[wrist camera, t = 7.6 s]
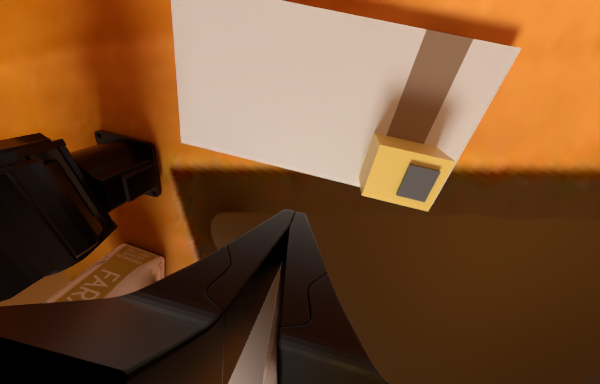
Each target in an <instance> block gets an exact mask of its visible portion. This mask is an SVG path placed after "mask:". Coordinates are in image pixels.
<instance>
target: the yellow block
mask: <svg viewBox="0 0 600 384" xmlns="http://www.w3.org/2000/svg"><path fill="white" fill-rule="evenodd" d="M455 162H456V161H454V160H453V159H452V158H450V157H449V156H448V155H446V154H445V153H444V152H443V151H441V150H440V149H439V148H437V147H435V146H431V145H426V144H422V143H417V142H413V141H408V140H404V139H399V138H395V137H390V136H386V135H381V134H377V133H374V134H373V137H372V140H371V143H370V146H369V149H368V152H367V155H366V158H365V160H364V163H363V166H362V169H361V172H360V175H359V182H360V188H361V195H362V196H366V197H370V198H374V199H378V200H383V201H387V202H391V203H395V204H399V205H403V206H407V207H411V208H416V209H420V210H424V211H429V209H430V207H431V205H432V204H433V202H434V200H435V198H436V196H437V195H438V193H439V191H440V189H441V187H442V186H443V184H444V182H445V180H446V179H447V177H448V175H449V173H450V171H451V170H452V168H453V166H454V164H455Z"/></svg>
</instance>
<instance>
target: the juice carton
mask: <svg viewBox="0 0 600 384" xmlns="http://www.w3.org/2000/svg"><path fill="white" fill-rule="evenodd" d="M164 269H165V261H164V258H163V257H162V256H160V255H157V254H154V253H151V252H149V251H146V250H143V249H140V248H137V247H135V246H132V245H129V244H121V245H120V246H118V247H117V248H115V249H114V250H112V251H111V252H110V253H108V254H107V255H106V256H104V257H103V258H102V259H100V260H99V261H98V262H96V263H95V264H94V265H92V266H91V267H90V268H88V269H87V270H86V271H84V272H83V273H82V274H80V275H79V276H78V277H76V278H75V279H74V280H72V281H71V282H70V283H68V284H67V285H66V286H64V287H63V288H62V289H60V290H59V291H58V292H56V293H55V294H54V295H53V296H51V297H50V298H49V299H47V300H46V301H45V302H43V303H53V302H65V301H78V300H91V299H104V298H112V297H118V296H122V295H125V294H129V293H131V292H134V291H137V290H139V289H141V288H144V287H146V286H148V285H150V284H152V283H154V282H156V281H158V280H160V279H163V278H165V276H164Z"/></svg>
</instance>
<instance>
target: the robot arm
mask: <svg viewBox="0 0 600 384" xmlns="http://www.w3.org/2000/svg"><path fill="white" fill-rule="evenodd" d="M95 138H96V142H97V145H96V146H92V147H89V148H85V149H82V150H78V151H74V152H71V153H70V152H69V151H68V149H67V148H66V146H65V145H66V144H65V142H64V140H63V139H58V140H53V141H51V140H50V138H47V137H45V136H44V135H42V134H41V133H37V134H31V135H26V136H21V137H15V138H10V139H5V140H0V302H1V301H4V300H7V299H10V298H12V297H13V296H15V295H16V294H18V293H20V292H21V291H23V290H24V289H26V288H27V287H29V286H30V285H32V284H33V283H35V282H37V281H38V280H40V279H42V278H43V277H45V276H49V275H52V274H55V273H58V272H60V271H63V270H65V269H67V268H69V267H71V266H73V265H75V264H76V263H78V262H80V261H81V260H83V259H84V258H86V257H87V256H88V255H89V254H90V253H91V252H92V251H93V250H94V249H95V248H96V247H97V246H98V245H100V244H101V243H102V242H103V241H104V240H105V239H106V238H107V237H108V236H109V235H110V234H111V233H112V232H113V231H114V230H115V229H116V228H117V227H118V226H117V224H116V223H115V222H113V220H112V219H111V217H110V215H109V214H108V212H110V211H112V210H114V209H116V208H117V207H119V206H121V205H122V204H124V203H126V202H131V201H133V200H134V199H136V198H138V197H139V196H141V195H143V194H146V195H149V196H153V197H158V196H159V195H160V194H161V190H160V182H159V175H158V167H157V160H156V152H155V147H154V145H153V144H152V143H151V142H147V141H143V140H139V139H135V138H131V137H127V136H123V135H119V134H115V133H111V132H107V131H103V130H98V131H95ZM148 146H149V147H150V148H149V147H148ZM281 263H282V265H281ZM280 266H281V270H280V276H279V282H278V288H277V294H276V301H275V307H274V313H273V319H272V326H271V332H270V338H269V344H268V350H267V357H266V363H265V370H264V375H263V381H262V384H389V383H388V382H387V381H386V380H385V379H384V378H383V377H382V376H381V374H380V373H379V372H378V370H377V369H376V368H375V366H374V365H373V363H372V362H371V360H370V358H369V357H368V355H367V353H366V351H365V349H364V347H363V346H362V343H361V342H360V340H359V338H358V336H357V334H356V332H355V330H354V328H353V326H352V324H351V323H350V321H349V319H348V317H347V315H346V313H345V311H344V309H343V307H342V305H341V303H340V301H339V299H338V297H337V295H336V292H335V290H334V288H333V285H332V283H331V280H330V278H329V275H328V272H327V269H326V267H325V264H324V262H323V259H322V256H321V253H320V251H319V248H318V245H317V243H316V240H315V238H314V235H313V232H312V230H311V227H310V224H309V222H308V219H307V216H306V214H304V213H300V212H296V213H295V211H292V210H288V209H284V210H283V211H281V212H280V213H278V214H276V215H275V216H273V217H271V218H270V219H268V220H266V221H265V222H263V223H262V224H260V225H259V226H257V227H255V228H253V229H252V230H250V231H248V232H247V233H245V234H244V235H242V236H240V237H239V238H237V239H235V240H234V241H232V242H230V243H229V244H227V245H226V246H224V247H222V248H220V249H219V250H217V251H215V252H214V253H212V254H210V255H208V256H207V257H205V258H203V259H201V260H199V261H197V262H195V263H193V264H191V265H189V266H187V267H185V268H183V269H181V270H179V271H177V272H175V273H173V274H171V275H169V276H167V277H165V278H163V279H160V280H158V281H156V282H154V283H152V284H150V285H148V286H146V287H144V288H141V289H139V290H137V291H134V292H131V293H129V294H125V295H122V296H118V297H112V298H104V299H91V300H78V301H65V302H53V303H40V304H27V305H14V306H2V307H0V384H228V382H229V380H230V378H231V375H232V373H233V371H234V369H235V367H236V364H237V362H238V360H239V358H240V356H241V353H242V351H243V349H244V347H245V344H246V342H247V340H248V338H249V335H250V333H251V331H252V329H253V326H254V324H255V322H256V320H257V317H258V315H259V313H260V311H261V309H262V306H263V304H264V302H265V300H266V298H267V295H268V293H269V291H270V289H271V286H272V284H273V282H274V280H275V277H276V275H277V273H278V271H279V268H280Z"/></svg>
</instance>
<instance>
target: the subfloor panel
mask: <svg viewBox="0 0 600 384" xmlns="http://www.w3.org/2000/svg"><path fill="white" fill-rule="evenodd" d="M171 9H172V23H173V37H174V51H175V65H176V78H177V92H178V106H179V120H180V133H181V143H185V144H189V145H193V146H197V147H201V148H205V149H209V150H213V151H217V152H221V153H225V154H229V155H233V156H237V157H241V158H245V159H249V160H253V161H257V162H261V163H265V164H269V165H273V166H277V167H281V168H285V169H289V170H293V171H297V172H302V173H306V174H310V175H314V176H318V177H322V178H326V179H330V180H334V181H338V182H342V183H346V184H350V185H354V186H358V187H360V182H359V175H360V172H361V169H362V166H363V163H364V160H365V158H366V155H367V152H368V149H369V146H370V143H371V140H372V137H373V134H374V133H377V134H381V135H386V136H390V137H395V138H399V139H404V140H408V141H413V142H417V143H422V144H426V145H431V146H435V147H437V148H439V149H440V150H441V151H443V152H444V153H445V154H446V155H448V156H449V157H450V158H452V159H453V160H454V161H456V162H457V161H458V159H459V157H460V155H461V154H462V152H463V150H464V148H465V147H466V145H467V143H468V141H469V140H470V138H471V136H472V134H473V133H474V131H475V129H476V127H477V126H478V124H479V122H480V120H481V119H482V117H483V115H484V113H485V112H486V110H487V108H488V106H489V105H490V103H491V101H492V99H493V98H494V96H495V94H496V92H497V91H498V89H499V87H500V85H501V84H502V82H503V80H504V78H505V77H506V75H507V73H508V71H509V69H510V68H511V66H512V64H513V62H514V61H515V59H516V57H517V55H518V54H519V52H520V50H521V48H517V47H512V46H507V45H502V44H497V43H492V42H487V41H482V40H477V39H472V38H467V37H462V36H457V35H452V34H447V33H442V32H437V31H432V30H427V29H422V28H417V27H412V26H407V25H402V24H397V23H392V22H387V21H382V20H377V19H372V18H367V17H362V16H357V15H352V14H348V13H343V12H338V11H333V10H328V9H323V8H318V7H313V6H308V5H303V4H298V3H293V2H288V1H283V0H171ZM456 162H455V164H456ZM455 164H454V166H455ZM454 166H453V168H454ZM453 168H452V169H453ZM451 171H452V170H451ZM451 171H450V173H451ZM450 173H449V175H450ZM449 175H448V176H449ZM447 178H448V177H447ZM446 180H447V179H446ZM446 180H445V182H446ZM445 182H444V183H445ZM443 185H444V184H443ZM442 187H443V186H442ZM442 187H441V189H442ZM441 189H440V190H441ZM439 192H440V191H439ZM438 194H439V193H438ZM437 196H438V195H437ZM437 196H436V197H437ZM435 199H436V198H435ZM434 201H435V200H434ZM433 203H434V202H433ZM432 205H433V204H432Z"/></svg>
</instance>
